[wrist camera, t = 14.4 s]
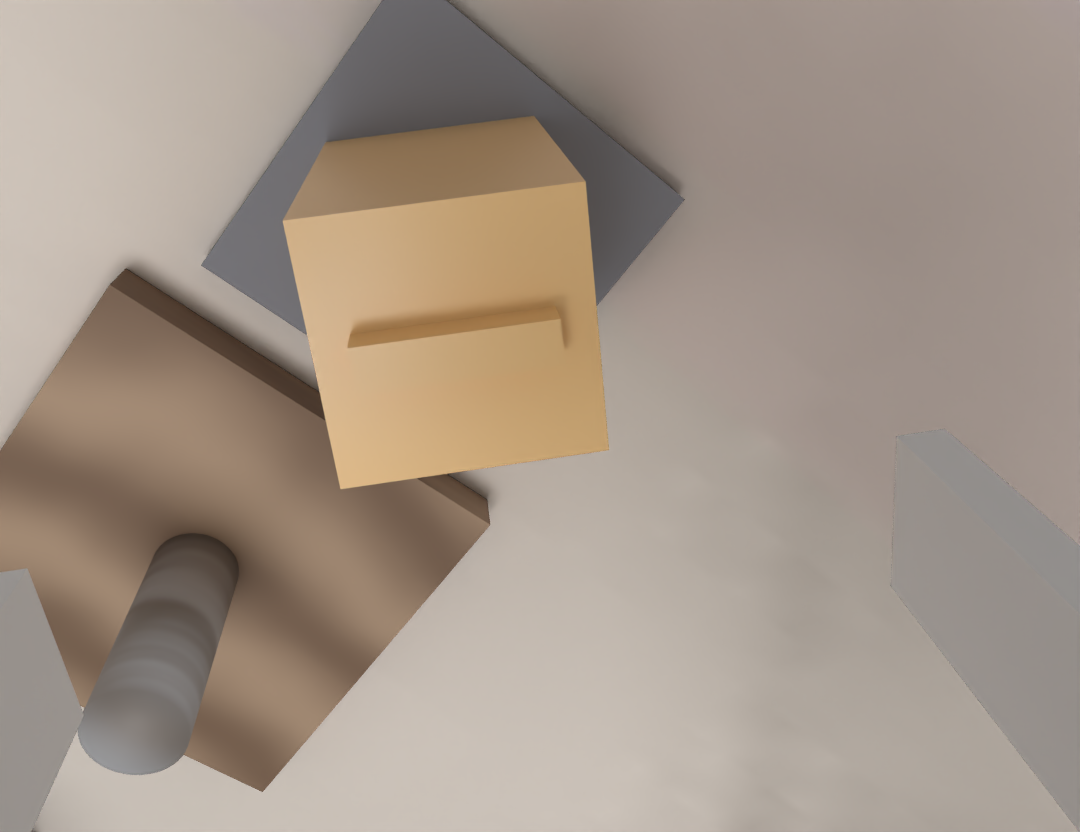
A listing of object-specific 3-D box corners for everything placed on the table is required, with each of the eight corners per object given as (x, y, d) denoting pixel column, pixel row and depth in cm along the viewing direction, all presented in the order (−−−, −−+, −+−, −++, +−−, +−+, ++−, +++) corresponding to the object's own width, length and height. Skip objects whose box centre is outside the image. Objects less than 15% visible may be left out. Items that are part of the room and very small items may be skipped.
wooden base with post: (268, 758, 45) (225, 985, 35) (-85, 586, 39) (-257, 796, 29) (486, 500, 40) (509, 673, 30) (125, 268, 35) (9, 386, 25)
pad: (477, 437, 39) (479, 448, 38) (206, 257, 35) (201, 265, 34) (677, 193, 36) (684, 199, 35) (406, -34, 32) (405, -34, 31)
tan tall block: (363, 339, 36) (337, 508, 25) (325, 142, 33) (276, 230, 22) (555, 312, 37) (615, 467, 25) (534, 116, 34) (592, 189, 22)
